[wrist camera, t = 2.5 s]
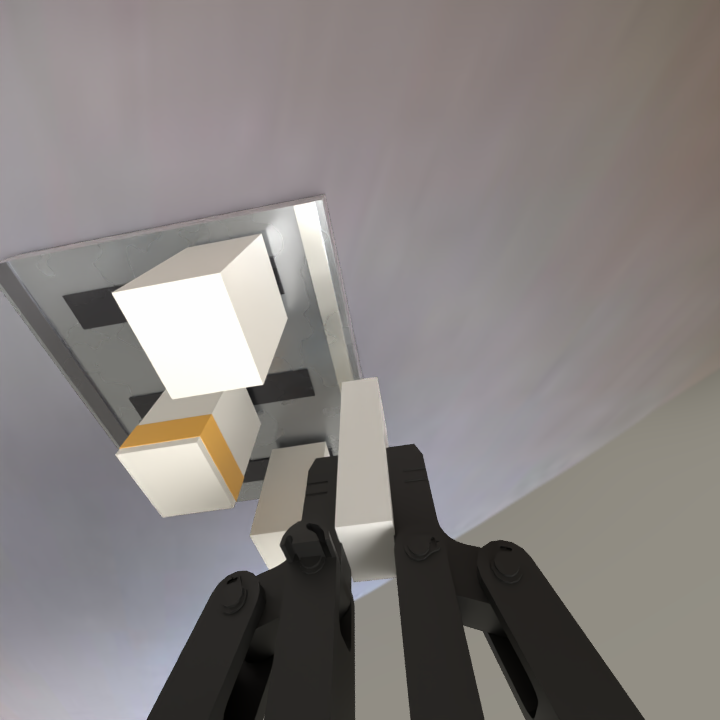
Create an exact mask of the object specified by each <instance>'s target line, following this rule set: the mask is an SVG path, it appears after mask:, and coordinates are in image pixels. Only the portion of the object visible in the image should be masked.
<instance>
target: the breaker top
mask: <svg viewBox="0 0 720 720" xmlns="http://www.w3.org/2000/svg"><path fill="white" fill-rule="evenodd" d="M112 295H113V297H114V298H115V300H116V302H117V304H118V305H119V307H120V309H121V311H122V312H123V314H124V316H125V318H126V319H127V321H128V323H129V325H130V326H131V328H132V330H133V332H134V333H135V335H136V337H137V339H138V340H139V342H140V344H141V346H142V347H143V349H144V351H145V353H146V354H147V356H148V358H149V360H150V361H151V363H152V365H153V367H154V368H155V370H156V372H157V374H158V376H159V377H160V379H161V381H162V383H163V384H164V386H165V388H166V390H167V391H168V393H169V395H170V397H171V398H172V399H178V398H184V397H190V396H196V395H203V394H209V393H215V392H221V391H228V390H234V389H240V388H246V387H252V386H259V385H263V384H264V381H265V379H266V376H267V373H268V371H269V368H270V365H271V362H272V360H273V357H274V354H275V352H276V349H277V346H278V343H279V341H280V338H281V335H282V333H283V330H284V327H285V324H286V322H287V319H288V318H287V315H286V311H285V308H284V305H283V302H282V298H281V295H280V292H279V289H278V285H277V282H276V279H275V276H274V272H273V269H272V266H271V263H270V259H269V256H268V253H267V250H266V246H265V243H264V240H263V237H262V233H261V234H256V235H251V236H245V237H240V238H235V239H230V240H224V241H219V242H214V243H209V244H204V245H198V246H193V247H188V248H185V249H184V250H182V251H180V252H179V253H177V254H175V255H174V256H172V257H170V258H169V259H167V260H165V261H164V262H162V263H160V264H159V265H157V266H155V267H154V268H152V269H150V270H149V271H147V272H145V273H144V274H142V275H140V276H139V277H137V278H135V279H134V280H132V281H130V282H129V283H127V284H125V285H124V286H122V287H120V288H119V289H117V290H116V291H114V292H112Z"/></svg>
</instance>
